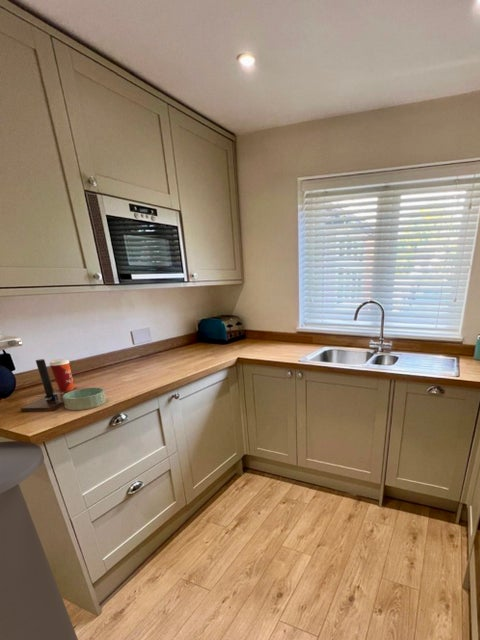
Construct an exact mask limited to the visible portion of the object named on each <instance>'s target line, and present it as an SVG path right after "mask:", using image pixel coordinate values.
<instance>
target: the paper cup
mask: <svg viewBox="0 0 480 640" xmlns="http://www.w3.org/2000/svg"><path fill="white" fill-rule="evenodd" d="M48 365H49V366H50V368H51V371H52V374H53V377H54V379H55V382H56V384H57V388H58V390H59V392H63V391H73V390H75V385H74V384H75V383H74V379H73V375H72V371H71V365H70V361H69V359H68V358H57V359H53V360H50V361H49V364H48Z"/></svg>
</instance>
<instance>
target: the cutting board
mask: <svg viewBox="0 0 480 640" xmlns="http://www.w3.org/2000/svg"><path fill="white" fill-rule="evenodd" d="M63 392H64V394H65V393H67V392H70V391H63ZM54 393H62V392H61V391H54ZM64 394H60V395H57V397H58V399H57V400H55V401H46V400H45V396H42V397H41V398H39V399H37V400H35V401H33V402H31V403H29V404H26V405H25V406H23V407H20V411H21V412H23V413H25V412H26V413H27V412H54V411H55V410H57V409H59V408H61V407H63V406H65V404H64V400H63V397H62V396H63V395H64Z"/></svg>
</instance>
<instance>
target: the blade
mask: <svg viewBox="0 0 480 640" xmlns="http://www.w3.org/2000/svg"><path fill="white" fill-rule="evenodd" d="M35 364H36V366H37V370H38V374H39V376H40V380H41V383H42V386H43V389H44V393H45V394H38V395H36V398H40V397H41V398H43V397H45V400H46V401H55V400H57V399H58V397H57V395H60V394H64V392H62V393H54V392H55V390H54V387H53V383H52V380H51V377H50V373H49V370H48V366H47V363H46V360H45V359H44V358H42V359H41V358H40V359H36V360H35Z"/></svg>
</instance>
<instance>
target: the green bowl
mask: <svg viewBox="0 0 480 640" xmlns="http://www.w3.org/2000/svg"><path fill="white" fill-rule="evenodd" d="M62 397H63V400H64V404H65V405H64V407H65V409H67V410H69V411H85V410H90V409H94V408H97V407H100V406H102V405H103V404H105V403H106V401H107V397H106V393H105V389H104V388H102V387H97V386H96V387H94V386H93V387H84V388H77V389H73V390H71V391H70V392H67V393H65V394H64V395H63V396H62Z"/></svg>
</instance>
